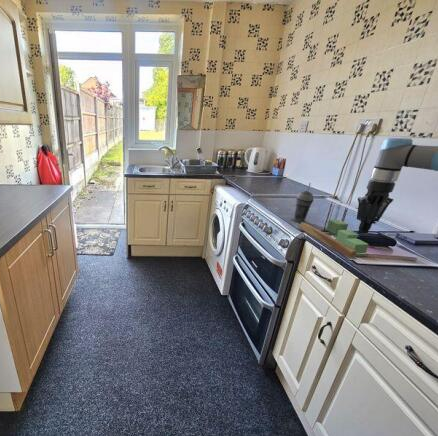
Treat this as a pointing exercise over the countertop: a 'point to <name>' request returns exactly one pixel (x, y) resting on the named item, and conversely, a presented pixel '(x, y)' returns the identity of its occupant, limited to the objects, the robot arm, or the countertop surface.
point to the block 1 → (336, 226)
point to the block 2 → (357, 245)
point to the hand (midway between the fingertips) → (361, 236)
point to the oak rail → (329, 240)
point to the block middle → (345, 235)
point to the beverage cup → (303, 205)
